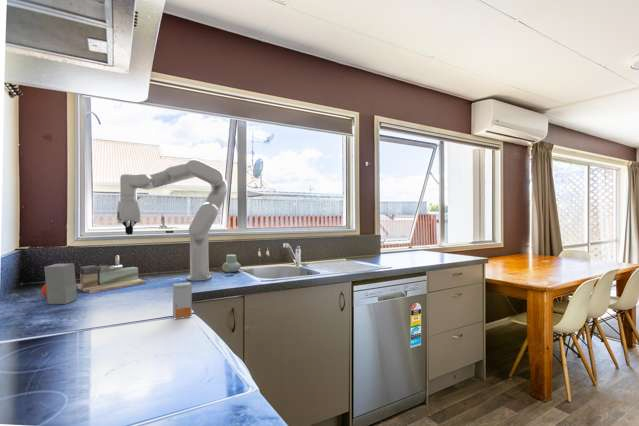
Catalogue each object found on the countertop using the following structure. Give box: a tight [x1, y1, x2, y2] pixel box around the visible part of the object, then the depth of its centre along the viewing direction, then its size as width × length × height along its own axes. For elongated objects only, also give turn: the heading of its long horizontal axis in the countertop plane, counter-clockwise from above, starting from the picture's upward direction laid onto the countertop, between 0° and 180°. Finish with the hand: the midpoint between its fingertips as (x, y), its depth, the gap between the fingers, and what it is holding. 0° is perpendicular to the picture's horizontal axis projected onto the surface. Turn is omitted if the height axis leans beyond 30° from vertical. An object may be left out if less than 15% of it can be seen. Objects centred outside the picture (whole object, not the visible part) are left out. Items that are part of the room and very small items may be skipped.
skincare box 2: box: [172, 281, 193, 319], centre depth 126 cm, size 6×4×12 cm
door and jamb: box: [76, 264, 146, 294], centre depth 175 cm, size 18×25×11 cm
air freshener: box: [221, 254, 242, 274], centre depth 212 cm, size 11×8×10 cm
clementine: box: [41, 283, 47, 298], centre depth 152 cm, size 8×7×7 cm
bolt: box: [99, 254, 124, 271], centre depth 175 cm, size 2×10×7 cm, turn 142°
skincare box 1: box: [43, 262, 78, 305], centre depth 145 cm, size 8×7×16 cm
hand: (129, 234), depth 182 cm, fingers closed
